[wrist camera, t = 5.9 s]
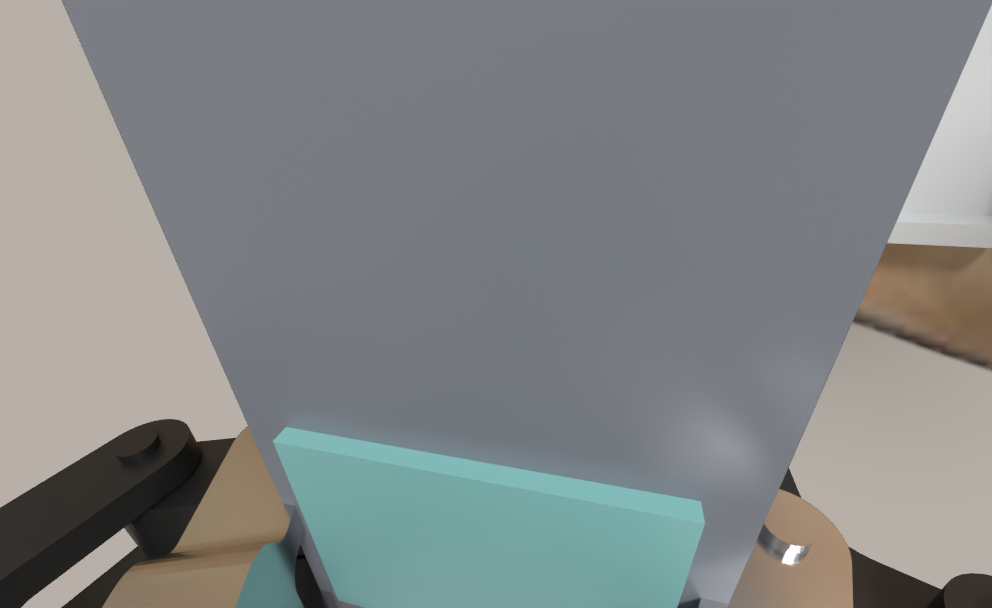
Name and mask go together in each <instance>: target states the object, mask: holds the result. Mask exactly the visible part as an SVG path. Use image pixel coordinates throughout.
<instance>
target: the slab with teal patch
mask: <svg viewBox="0 0 992 608" xmlns="http://www.w3.org/2000/svg"><path fill="white" fill-rule="evenodd" d="M62 2H63V5H64V7H65V9H66V11H67V14H68V16H69V18H70V21H71V23H72V25H73V27H74V30H75V32H76V34H77V36H78V39H79V41H80V43H81V46H82V48H83V50H84V53H85V55H86V57H87V59H88V62H89V64H90V66H91V68H92V71H93V73H94V75H95V78H96V80H97V82H98V84H99V87H100V89H101V91H102V94H103V96H104V98H105V100H106V103H107V105H108V107H109V110H110V112H111V114H112V116H113V119H114V121H115V123H116V126H117V128H118V130H119V132H120V135H121V137H122V139H123V141H124V144H125V146H126V148H127V150H128V153H129V155H130V157H131V160H132V162H133V164H134V167H135V169H136V171H137V173H138V176H139V178H140V180H141V182H142V185H143V187H144V189H145V192H146V194H147V196H148V198H149V201H150V203H151V205H152V208H153V210H154V212H155V214H156V217H157V219H158V221H159V223H160V226H161V228H162V230H163V233H164V235H165V237H166V240H167V242H168V244H169V246H170V249H171V251H172V253H173V255H174V257H175V260H176V262H177V265H178V267H179V269H180V271H181V273H182V276H183V278H184V280H185V283H186V285H187V287H188V290H189V292H190V294H191V296H192V299H193V301H194V303H195V305H196V308H197V310H198V312H199V315H200V317H201V319H202V322H203V324H204V326H205V328H206V330H207V333H208V335H209V338H210V340H211V342H212V344H213V347H214V349H215V351H216V353H217V356H218V358H219V360H220V363H221V365H222V367H223V369H224V372H225V374H226V376H227V379H228V381H229V383H230V385H231V388H232V390H233V392H234V394H235V397H236V399H237V401H238V404H239V406H240V408H241V410H242V413H243V415H244V417H245V420H246V422H247V424H248V426H249V429H250V431H251V433H252V436H253V438H254V440H255V442H256V445H257V447H258V449H259V452H260V454H261V456H262V458H263V461H264V463H265V465H266V468H267V470H268V472H269V474H270V477H271V479H272V481H273V483H274V486H275V488H276V490H277V493H278V495H279V497H280V499H281V502H282V503H285V504H289V505H294V506H296V509H297V511H298V513H299V516H300V518H301V521H302V523H303V525H304V528H305V530H304V533H303V537H302V540H301V543H300V545H301V547H302V550H303V552H304V554H305V556H306V559H307V561H308V563H309V566H310V568H311V570H312V572H313V575H314V577H315V579H316V581H317V584H318V586H319V588H320V589H321V590H324V591H328V592H332V595H333V597H334V600H335V602H336V604H337V607H338V608H697V607H698V605H699V602H700V599H701V598H705V599H709V600H713V601H718V602H722V603H727V604H729V602H730V599H731V597H732V595H733V593H734V590H735V588H736V586H737V584H738V581H739V579H740V577H741V574H742V572H743V570H744V568H745V565H746V563H747V561H748V558H749V556H750V554H751V552H752V549H753V547H754V545H755V543H756V540H757V538H758V536H759V533H760V531H761V529H762V527H763V524H764V522H765V520H766V517H767V515H768V513H769V511H770V508H771V506H772V504H773V502H774V499H775V497H776V495H777V492H778V490H779V488H780V486H781V483H782V481H783V479H784V477H785V474H786V472H787V470H788V467H789V465H790V463H791V461H792V458H793V456H794V453H795V451H796V449H797V447H798V445H799V442H800V440H801V438H802V436H803V433H804V431H805V429H806V426H807V424H808V422H809V420H810V417H811V415H812V412H813V410H814V408H815V406H816V404H817V401H818V399H819V397H820V394H821V392H822V390H823V388H824V385H825V383H826V381H827V378H828V376H829V374H830V372H831V370H832V367H833V365H834V363H835V360H836V358H837V356H838V353H839V351H840V349H841V347H842V344H843V342H844V340H845V337H846V335H847V333H848V330H849V329H850V326H851V324H852V322H853V319H854V317H855V315H856V313H857V310H858V308H859V306H860V303H861V301H862V299H863V297H864V294H865V292H866V290H867V288H868V285H869V283H870V281H871V278H872V276H873V274H874V272H875V269H876V267H877V265H878V263H879V260H880V258H881V256H882V253H883V251H884V249H885V247H886V244H887V242H888V240H889V237H890V235H891V233H892V231H893V228H894V226H895V224H896V222H897V219H898V217H899V215H900V212H901V210H902V208H903V206H904V203H905V201H906V199H907V196H908V194H909V192H910V190H911V187H912V185H913V183H914V181H915V178H916V176H917V174H918V171H919V169H920V167H921V165H922V162H923V160H924V158H925V155H926V153H927V151H928V149H929V146H930V144H931V142H932V140H933V137H934V135H935V133H936V130H937V128H938V126H939V124H940V121H941V119H942V117H943V115H944V112H945V110H946V108H947V105H948V103H949V101H950V99H951V96H952V94H953V92H954V89H955V87H956V85H957V83H958V80H959V78H960V76H961V74H962V71H963V69H964V67H965V64H966V62H967V60H968V58H969V55H970V53H971V51H972V48H973V46H974V44H975V42H976V39H977V37H978V35H979V33H980V30H981V28H982V26H983V23H984V21H985V19H986V17H987V14H988V12H989V10H990V7H991V5H992V0H62Z"/></svg>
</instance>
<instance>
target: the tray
mask: <svg viewBox="0 0 992 608" xmlns="http://www.w3.org/2000/svg"><path fill="white" fill-rule="evenodd" d="M887 243H894V244H915V245H936V246H957V247H978V248H992V5H991V7H990V10H989V12H988V14H987V17H986V19H985V21H984V23H983V26H982V28H981V30H980V33H979V35H978V37H977V39H976V42H975V44H974V46H973V48H972V51H971V53H970V55H969V58H968V60H967V62H966V64H965V67H964V69H963V71H962V74H961V76H960V78H959V80H958V83H957V85H956V87H955V89H954V92H953V94H952V96H951V99H950V101H949V103H948V105H947V108H946V110H945V112H944V115H943V117H942V119H941V121H940V124H939V126H938V128H937V130H936V133H935V135H934V137H933V140H932V142H931V144H930V146H929V149H928V151H927V153H926V155H925V158H924V160H923V162H922V165H921V167H920V169H919V171H918V174H917V176H916V178H915V181H914V183H913V185H912V187H911V190H910V192H909V194H908V196H907V199H906V201H905V203H904V206H903V208H902V210H901V212H900V215H899V217H898V219H897V222H896V224H895V226H894V228H893V231H892V233H891V235H890V237H889V240H888V242H887Z"/></svg>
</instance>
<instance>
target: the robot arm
mask: <svg viewBox="0 0 992 608" xmlns="http://www.w3.org/2000/svg"><path fill="white" fill-rule="evenodd" d="M123 528H125V529H126V531H127V532H128V533H129V535H130V536H131V537H132V539H133V540H134V541H135V543H136V544H137V545H138V546H137V547H136V548H135V549H134V550H133V551H131V552H130V553H129V554H128V555H126V556H125V557H124V558H123V559H121V560H120V561H119V562H118V563H116V564H115V565H114V566H113V567H111V568H110V569H109V570H108V571H107V572H105V573H104V574H103V575H101V576H100V577H99V578H98V579H96V580H95V581H94V582H93V583H92V584H90V585H89V586H88V587H87V588H85V589H84V590H83V591H82V592H80V593H79V594H78V595H77V596H75V597H74V598H73V599H72V600H70V601H69V602H68V603H67V604H65V605H64V606H63V607H62V608H338V607H337V604H336V602H335V600H334V597H333V595H332V592H328V591H324V590H321V589H320V588H319V586H318V584H317V581H316V579H315V577H314V575H313V572H312V570H311V568H310V566H309V563H308V561H307V559H306V556H305V554H304V552H303V550H302V547H301V545H300V543H301V540H302V537H303V533H304V530H305V528H304V525H303V523H302V521H301V518H300V516H299V513H298V511H297V509H296V506H294V505H289V504H285V503H282V502H281V499H280V497H279V495H278V493H277V490H276V488H275V486H274V483H273V481H272V479H271V477H270V474H269V472H268V470H267V468H266V465H265V463H264V461H263V458H262V456H261V454H260V452H259V449H258V447H257V445H256V442H255V440H254V438H253V436H252V433H251V431H250V429H249V426H247V427H246V428H245V429H244V430H243V431H242V432H241V433H240V434H239V435H238V436H237V438H230V439H220V440H211V441H201V442H196V440H195V438H194V436H193V434H192V433H191V431H190V429H189V427H188V426H187V424H185V423H184V422H182V421H180V420H174V419H165V420H158V421H153V422H149V423H146V424H143V425H140V426H138V427H135V428H133V429H131V430H129V431H127V432H125V433H123V434H121V435H119V436H118V437H116V438H114V439H113V440H111V441H109V442H108V443H106V444H104V445H103V446H101V447H100V448H98V449H97V450H95V451H93V452H91V453H90V454H88V455H87V456H85V457H83V458H81V459H80V460H79V461H77V462H75V463H73V464H72V465H70V466H68V467H67V468H65V469H63V470H62V471H60V472H58V473H57V474H55V475H53V476H52V477H50V478H48V479H47V480H45V481H44V482H42V483H40V484H39V485H37V486H36V487H34V488H32V489H30V490H29V491H27V492H25V493H24V494H22V495H20V496H19V497H17V498H16V499H14V500H12V501H11V502H9V503H7V504H6V505H4V506H2V507H1V508H0V608H21V607H22V606H23V605H24V604H25V603H26V602H27V601H28V600H29V599H30V598H32V597H33V596H34V595H35V594H37V593H38V592H39V591H41V590H42V589H43V588H45V587H46V586H47V585H49V584H50V583H51V582H53V581H54V580H55V579H57V578H58V577H59V576H61V575H62V574H63V573H65V572H66V571H67V570H68V569H70V568H71V567H72V566H74V565H75V564H76V563H77V562H79V561H80V560H82V559H83V558H84V557H85V556H87V555H88V554H89V553H91V552H92V551H94V550H95V549H96V548H97V547H99V546H100V545H101V544H103V543H104V542H105V541H106V540H108V539H109V538H111V537H112V536H113V535H115V534H116V533H117V532H119V531H120V530H121V529H123ZM697 608H992V576H990V575H985V574H973V573H971V574H962V575H959V576H956V577H954V578H953V579H951V580H950V581H949V582H948V583H947V584H946V585H945V586H944V588H943V589H942V590H941V589H939V588H937V587H934V586H932V585H930V584H927V583H925V582H923V581H920V580H918V579H916V578H914V577H911V576H909V575H907V574H904V573H902V572H900V571H897V570H895V569H893V568H890V567H888V566H886V565H883V564H881V563H879V562H877V561H874V560H872V559H870V558H868V557H866V556H864V555H862V554H860V553H859V552H857V551H855V550H853V549H852V548H850V547H848V545H847V543H846V541H845V539H844V538H843V536H842V534H841V533H840V532H839V530H838V529H837V528H836V526H835V525H834V524H833V523H832V522H831V521H830V520H829V519H828V518H827V517H826V516H825V515H824V514H823V513H822V512H820V511H819V510H818V509H817V508H815V507H814V506H813V505H811V504H810V503H808V502H807V501H805V500H803V499H802V498H801V496H800V494H799V492H798V489H797V487H796V485H795V482H794V479H793V477H792V475H791V472H790V470H789V467H788V470H787V472H786V474H785V477H784V479H783V481H782V483H781V486H780V488H779V490H778V492H777V495H776V497H775V499H774V502H773V504H772V506H771V508H770V511H769V513H768V515H767V517H766V520H765V522H764V524H763V527H762V529H761V531H760V533H759V536H758V538H757V540H756V543H755V545H754V547H753V549H752V552H751V554H750V556H749V558H748V561H747V563H746V565H745V568H744V570H743V572H742V574H741V577H740V579H739V581H738V584H737V586H736V588H735V590H734V593H733V595H732V597H731V599H730V602H729V604H727V603H722V602H718V601H713V600H709V599H705V598H701V599H700V602H699V605H698V607H697Z"/></svg>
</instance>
